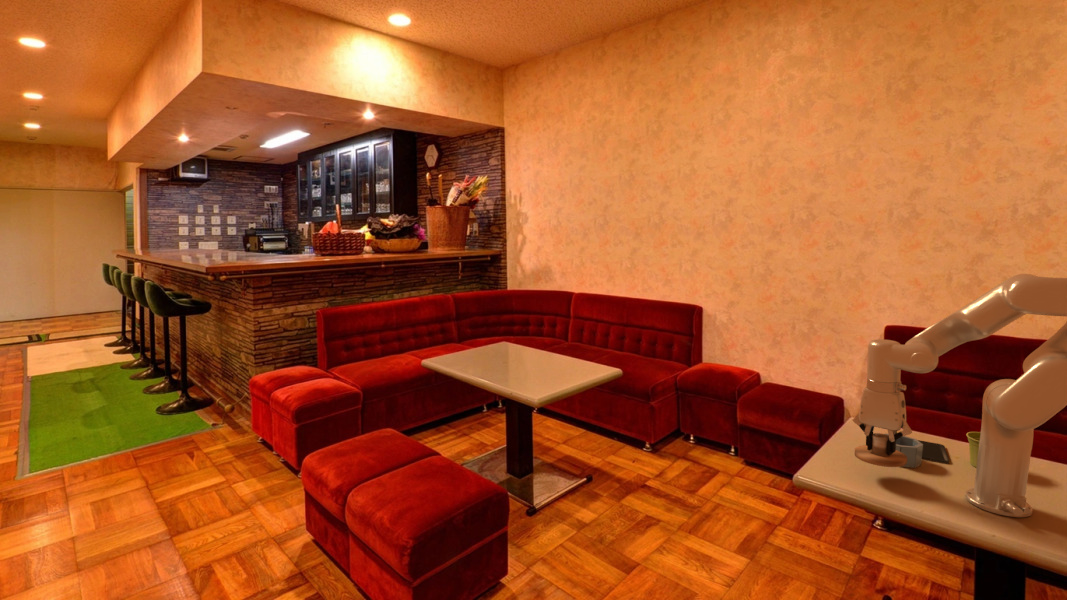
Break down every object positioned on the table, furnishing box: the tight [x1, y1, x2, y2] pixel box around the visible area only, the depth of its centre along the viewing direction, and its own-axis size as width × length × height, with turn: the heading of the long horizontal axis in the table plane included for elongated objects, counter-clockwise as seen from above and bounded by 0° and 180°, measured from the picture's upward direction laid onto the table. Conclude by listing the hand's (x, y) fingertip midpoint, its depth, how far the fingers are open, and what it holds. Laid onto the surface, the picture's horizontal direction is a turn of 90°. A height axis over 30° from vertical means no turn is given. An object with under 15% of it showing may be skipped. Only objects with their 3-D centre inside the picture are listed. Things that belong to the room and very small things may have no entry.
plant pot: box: [965, 431, 981, 468], centre depth 153 cm, size 9×9×9 cm
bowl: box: [884, 433, 923, 469], centre depth 158 cm, size 10×10×6 cm
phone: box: [917, 439, 950, 465], centre depth 163 cm, size 8×1×15 cm
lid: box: [854, 432, 907, 468], centre depth 145 cm, size 12×12×6 cm
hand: (880, 450), depth 145 cm, fingers closed on lid, 4 cm apart
